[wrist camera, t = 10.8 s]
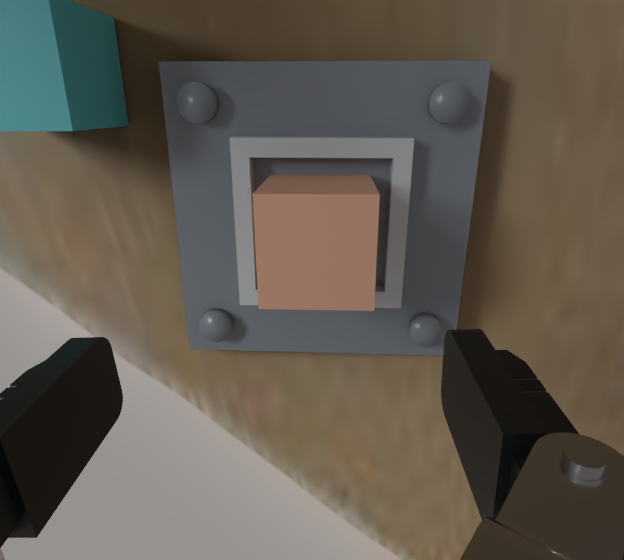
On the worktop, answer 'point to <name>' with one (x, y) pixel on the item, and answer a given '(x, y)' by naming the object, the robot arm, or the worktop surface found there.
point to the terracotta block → (316, 242)
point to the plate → (325, 161)
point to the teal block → (58, 68)
